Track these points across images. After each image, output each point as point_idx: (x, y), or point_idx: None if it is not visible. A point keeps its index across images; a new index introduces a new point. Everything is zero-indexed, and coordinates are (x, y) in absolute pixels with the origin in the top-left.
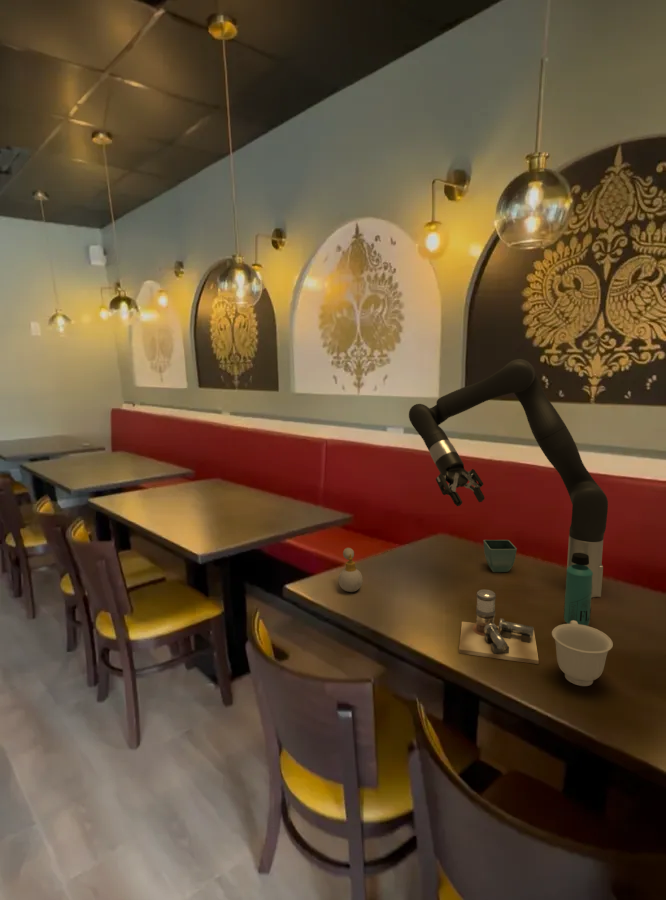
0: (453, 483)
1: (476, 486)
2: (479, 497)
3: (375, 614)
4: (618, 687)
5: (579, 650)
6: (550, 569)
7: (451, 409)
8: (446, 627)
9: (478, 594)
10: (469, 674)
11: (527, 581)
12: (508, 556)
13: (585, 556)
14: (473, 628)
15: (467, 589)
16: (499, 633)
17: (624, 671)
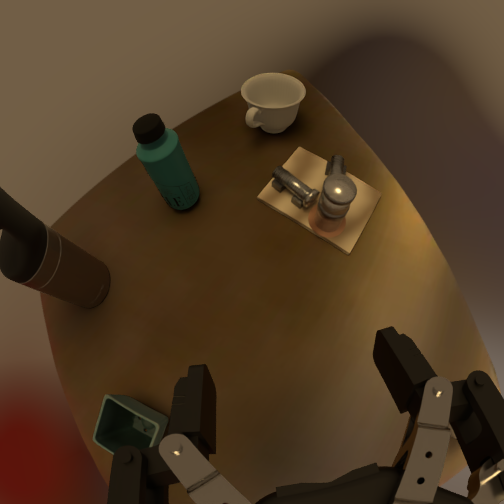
0: (449, 429)
1: (195, 445)
2: (209, 393)
3: (451, 326)
4: (247, 109)
5: (294, 78)
6: (72, 371)
7: None
8: (373, 257)
9: (356, 188)
10: (381, 162)
11: (133, 355)
12: (128, 402)
13: (146, 116)
14: (343, 227)
15: (264, 374)
16: (330, 174)
17: (219, 122)
